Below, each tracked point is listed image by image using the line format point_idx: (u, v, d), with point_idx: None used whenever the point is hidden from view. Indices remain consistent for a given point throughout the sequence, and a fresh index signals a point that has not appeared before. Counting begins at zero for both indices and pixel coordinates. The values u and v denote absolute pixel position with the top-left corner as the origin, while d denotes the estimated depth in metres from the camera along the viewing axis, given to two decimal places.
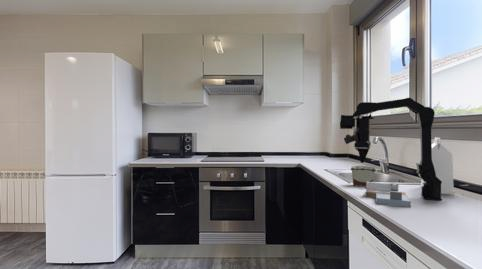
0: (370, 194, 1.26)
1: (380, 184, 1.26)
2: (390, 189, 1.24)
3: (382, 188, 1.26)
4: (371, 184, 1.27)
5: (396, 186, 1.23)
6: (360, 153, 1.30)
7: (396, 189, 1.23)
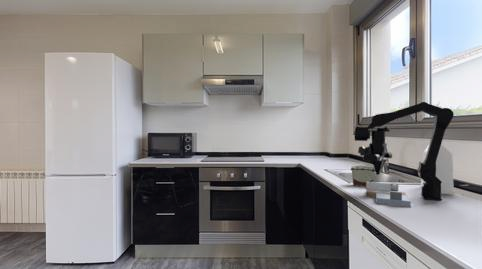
0: (370, 194, 1.26)
1: (380, 184, 1.26)
2: (390, 189, 1.24)
3: (382, 188, 1.26)
4: (371, 184, 1.27)
5: (396, 186, 1.23)
6: (374, 165, 1.33)
7: (396, 189, 1.23)
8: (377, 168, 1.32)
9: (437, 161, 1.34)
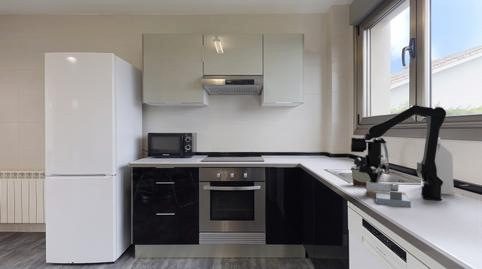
0: (370, 194, 1.26)
1: (380, 184, 1.26)
2: (390, 189, 1.24)
3: (382, 188, 1.26)
4: (371, 184, 1.27)
5: (396, 186, 1.23)
6: (370, 177, 1.30)
7: (396, 189, 1.23)
8: (373, 180, 1.30)
9: (437, 161, 1.34)
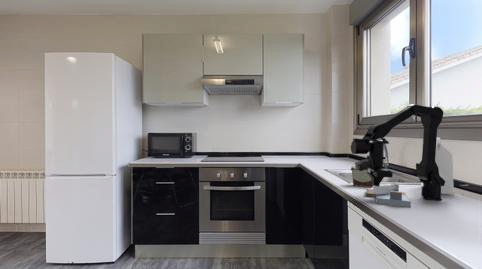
0: (370, 194, 1.26)
1: (387, 186, 1.22)
2: (394, 190, 1.23)
3: (389, 190, 1.22)
4: (381, 188, 1.20)
5: (398, 186, 1.24)
6: (374, 180, 1.23)
7: (398, 189, 1.24)
8: (377, 183, 1.23)
9: (437, 161, 1.34)
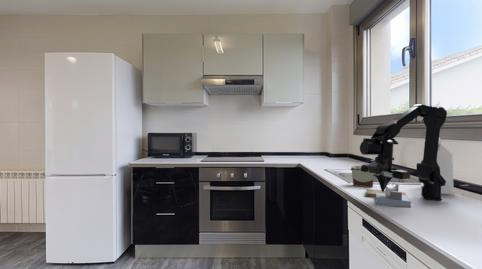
0: (370, 194, 1.26)
1: (394, 187, 1.20)
2: (396, 190, 1.23)
3: None
4: (393, 189, 1.17)
5: None
6: (385, 182, 1.18)
7: None
8: (385, 184, 1.19)
9: (437, 161, 1.34)
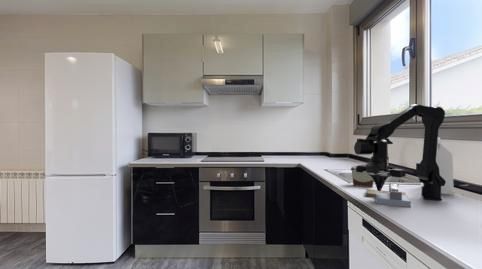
0: (370, 194, 1.26)
1: (397, 187, 1.20)
2: None
3: None
4: None
5: None
6: (382, 181, 1.20)
7: None
8: (382, 184, 1.21)
9: (437, 161, 1.34)
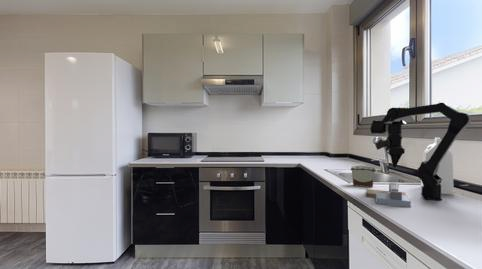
0: (370, 194, 1.26)
1: (397, 187, 1.20)
2: None
3: None
4: None
5: None
6: (392, 158, 1.33)
7: None
8: (395, 161, 1.33)
9: None
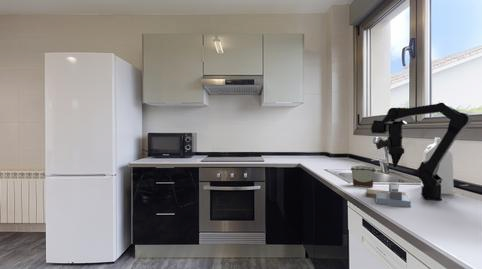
0: (370, 194, 1.26)
1: (397, 187, 1.20)
2: None
3: None
4: None
5: None
6: (392, 158, 1.34)
7: None
8: (395, 161, 1.34)
9: None
